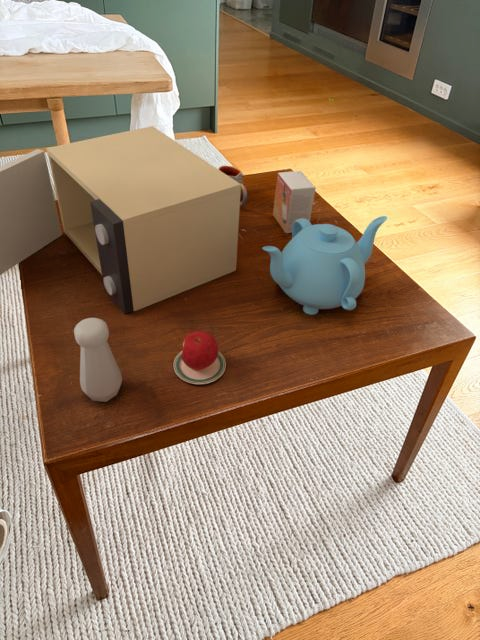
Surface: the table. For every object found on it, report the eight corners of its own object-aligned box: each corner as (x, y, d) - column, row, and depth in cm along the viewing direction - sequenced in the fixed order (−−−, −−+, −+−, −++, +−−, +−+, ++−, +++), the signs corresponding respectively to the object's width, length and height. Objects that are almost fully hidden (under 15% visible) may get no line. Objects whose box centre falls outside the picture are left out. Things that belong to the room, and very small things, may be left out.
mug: (208, 192, 119) (209, 166, 114) (234, 188, 121) (236, 162, 117) (229, 216, 111) (230, 189, 106) (256, 211, 113) (259, 184, 109)
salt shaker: (80, 381, 73) (64, 315, 64) (119, 372, 75) (108, 306, 66) (85, 411, 69) (69, 345, 60) (127, 401, 71) (116, 335, 62)
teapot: (370, 278, 96) (388, 214, 87) (345, 341, 82) (363, 273, 73) (291, 256, 100) (300, 193, 91) (255, 312, 87) (261, 244, 77)
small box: (272, 215, 112) (276, 171, 105) (295, 213, 114) (301, 169, 107) (285, 234, 106) (290, 189, 99) (308, 231, 108) (316, 186, 101)
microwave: (121, 316, 84) (107, 224, 72) (53, 236, 101) (33, 150, 89) (236, 270, 96) (241, 184, 84) (157, 205, 113) (152, 125, 101)
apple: (191, 394, 72) (190, 363, 68) (164, 361, 77) (161, 330, 73) (235, 372, 76) (237, 341, 72) (207, 341, 81) (207, 311, 76)
